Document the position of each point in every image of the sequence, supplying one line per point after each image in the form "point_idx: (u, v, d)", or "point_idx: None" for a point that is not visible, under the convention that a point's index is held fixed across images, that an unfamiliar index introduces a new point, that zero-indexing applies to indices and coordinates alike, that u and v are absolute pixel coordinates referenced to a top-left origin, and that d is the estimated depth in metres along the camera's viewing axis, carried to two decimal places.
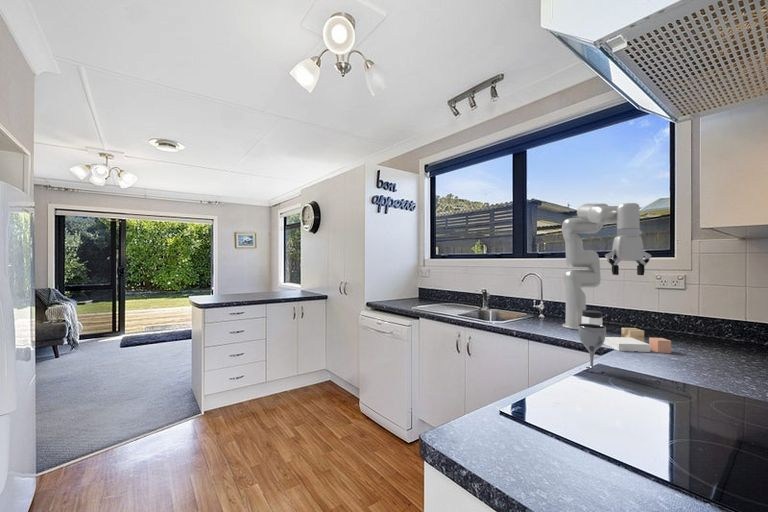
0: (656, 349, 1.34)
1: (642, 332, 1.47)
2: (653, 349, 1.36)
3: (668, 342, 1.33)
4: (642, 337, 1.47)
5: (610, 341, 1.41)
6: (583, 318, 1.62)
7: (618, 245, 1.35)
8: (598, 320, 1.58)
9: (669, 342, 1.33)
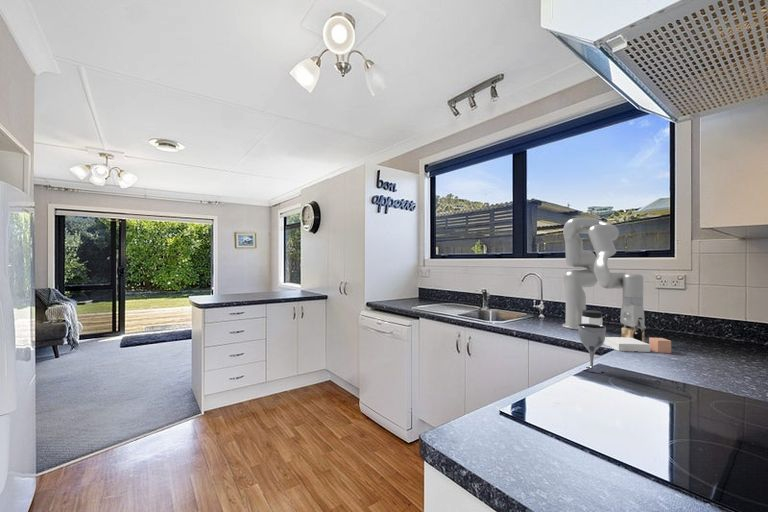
0: (656, 349, 1.34)
1: None
2: (653, 349, 1.36)
3: (668, 342, 1.33)
4: (642, 337, 1.46)
5: (610, 341, 1.41)
6: (583, 318, 1.62)
7: (643, 313, 1.45)
8: (598, 320, 1.58)
9: (669, 342, 1.33)
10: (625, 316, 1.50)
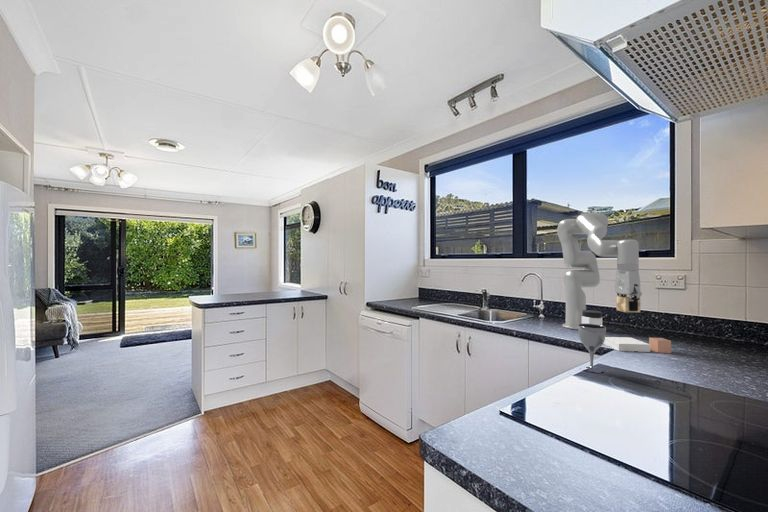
0: (656, 349, 1.34)
1: None
2: (653, 349, 1.36)
3: (668, 342, 1.33)
4: (638, 305, 1.40)
5: (610, 341, 1.41)
6: (583, 318, 1.62)
7: (639, 280, 1.38)
8: (598, 320, 1.58)
9: (669, 342, 1.33)
10: (620, 284, 1.44)
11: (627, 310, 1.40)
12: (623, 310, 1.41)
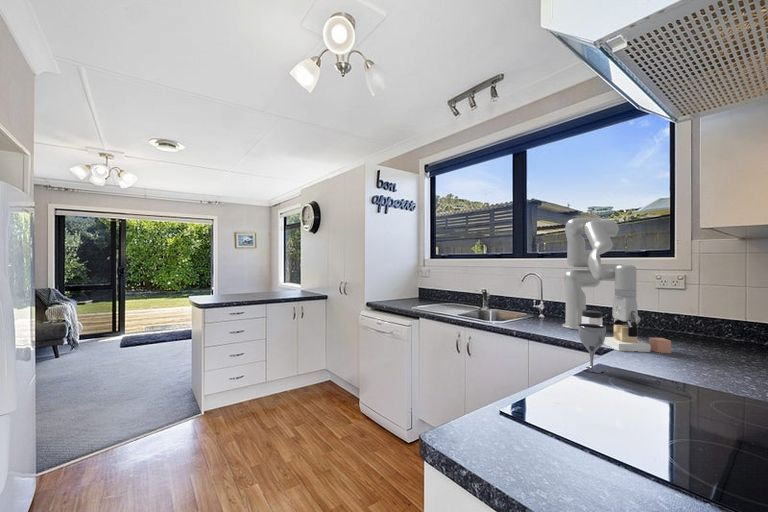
0: (656, 349, 1.34)
1: None
2: (653, 349, 1.36)
3: (668, 342, 1.33)
4: None
5: (610, 341, 1.41)
6: (583, 318, 1.62)
7: (636, 307, 1.36)
8: (598, 320, 1.58)
9: (669, 342, 1.33)
10: (617, 310, 1.41)
11: (624, 340, 1.38)
12: (620, 339, 1.39)
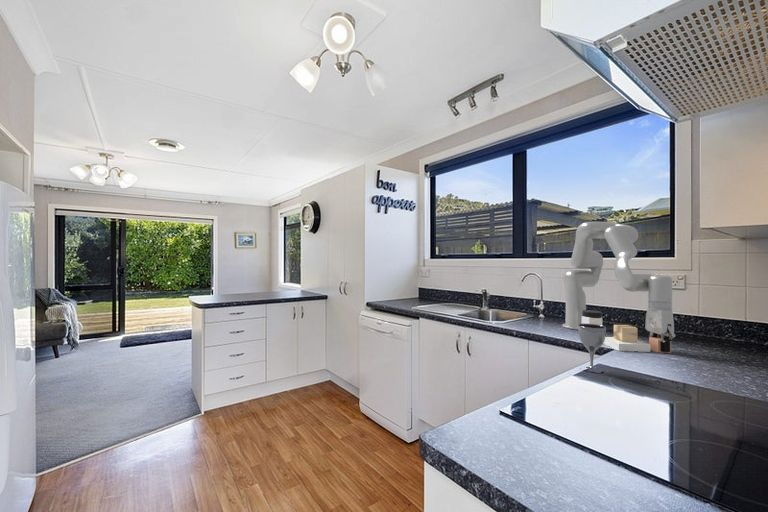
0: (656, 349, 1.34)
1: (635, 329, 1.38)
2: (653, 349, 1.36)
3: None
4: (635, 335, 1.38)
5: (610, 341, 1.41)
6: (583, 318, 1.62)
7: (673, 319, 1.31)
8: (598, 320, 1.58)
9: None
10: (652, 322, 1.36)
11: (624, 340, 1.38)
12: (620, 339, 1.39)
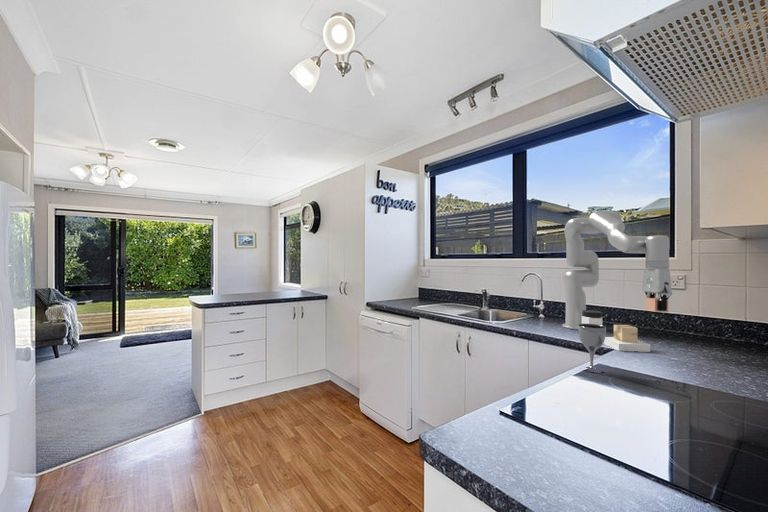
0: (653, 308, 1.35)
1: (635, 329, 1.38)
2: (650, 308, 1.36)
3: None
4: (635, 335, 1.38)
5: (610, 341, 1.41)
6: (583, 318, 1.62)
7: (670, 278, 1.31)
8: (598, 320, 1.58)
9: None
10: (649, 282, 1.37)
11: (624, 340, 1.38)
12: (620, 339, 1.39)
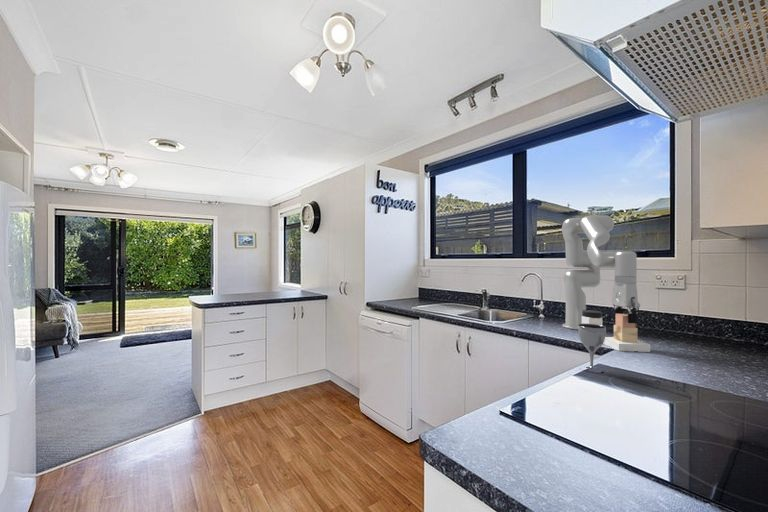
0: (621, 324, 1.39)
1: (635, 329, 1.38)
2: (619, 324, 1.41)
3: None
4: (635, 335, 1.38)
5: (610, 341, 1.41)
6: (583, 318, 1.62)
7: (636, 293, 1.36)
8: (598, 320, 1.58)
9: None
10: (617, 296, 1.41)
11: (624, 340, 1.38)
12: (620, 339, 1.39)
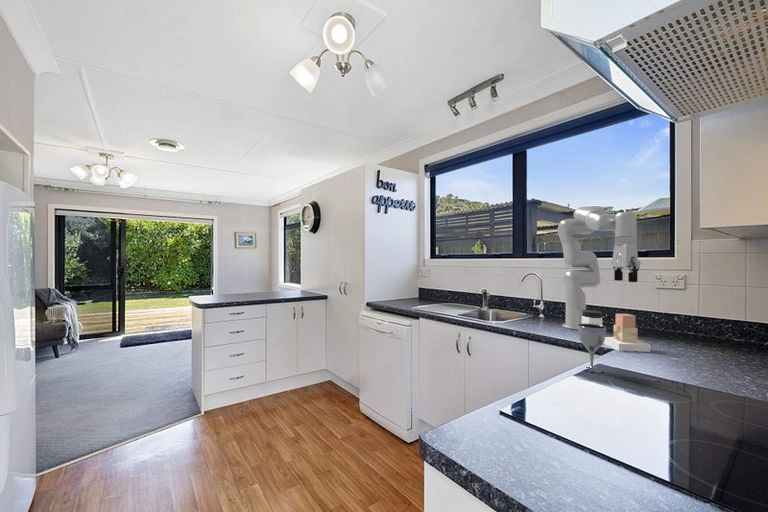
0: (621, 324, 1.39)
1: (635, 329, 1.38)
2: (619, 324, 1.41)
3: (632, 317, 1.38)
4: (635, 335, 1.38)
5: (610, 341, 1.41)
6: (583, 318, 1.62)
7: (636, 252, 1.36)
8: (598, 320, 1.58)
9: (633, 317, 1.38)
10: (618, 258, 1.41)
11: (624, 340, 1.38)
12: (620, 339, 1.39)
